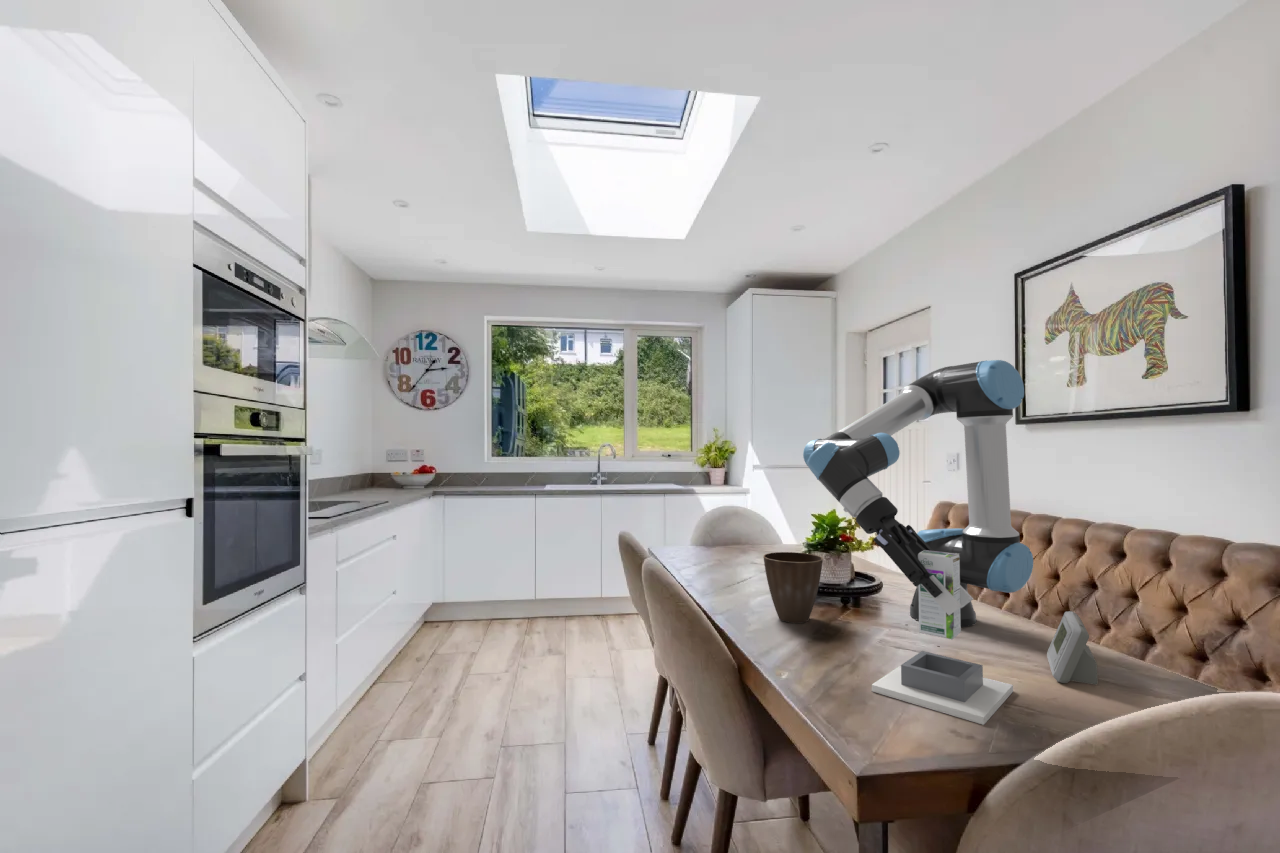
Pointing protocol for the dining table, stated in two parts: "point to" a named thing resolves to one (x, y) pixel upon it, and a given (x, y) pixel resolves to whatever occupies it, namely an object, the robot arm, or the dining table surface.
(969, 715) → the socket dock
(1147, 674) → the dining table surface
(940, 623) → the syrup box
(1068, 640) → the digital clock
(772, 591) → the plant pot
